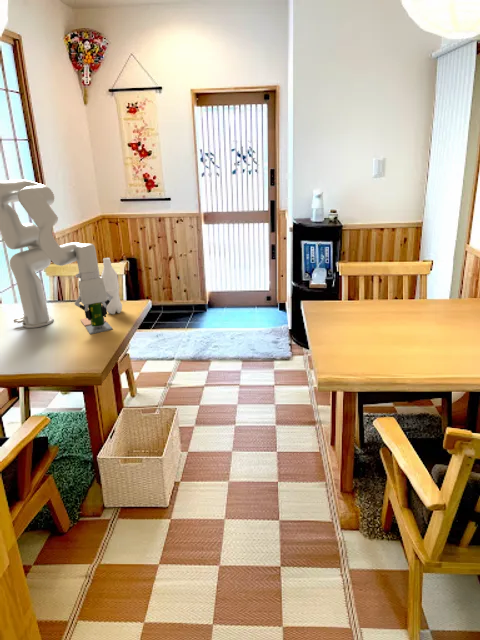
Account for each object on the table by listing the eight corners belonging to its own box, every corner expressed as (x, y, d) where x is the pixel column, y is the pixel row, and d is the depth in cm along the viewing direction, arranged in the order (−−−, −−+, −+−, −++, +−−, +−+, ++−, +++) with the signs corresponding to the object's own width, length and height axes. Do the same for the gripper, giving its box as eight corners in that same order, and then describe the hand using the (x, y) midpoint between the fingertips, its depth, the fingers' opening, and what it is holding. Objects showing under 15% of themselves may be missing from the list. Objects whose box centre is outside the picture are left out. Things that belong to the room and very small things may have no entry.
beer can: (99, 322, 195) (95, 295, 191) (107, 324, 192) (103, 297, 188) (88, 326, 192) (84, 298, 187) (96, 328, 188) (91, 300, 184)
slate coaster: (90, 334, 187) (90, 333, 186) (85, 327, 194) (85, 326, 194) (112, 329, 190) (112, 328, 190) (107, 323, 198) (107, 321, 198)
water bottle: (125, 309, 214) (117, 256, 205) (119, 314, 207) (111, 260, 199) (110, 310, 215) (101, 257, 206) (104, 315, 208) (95, 260, 200)
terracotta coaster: (84, 326, 196) (84, 325, 195) (80, 320, 203) (80, 319, 203) (106, 321, 200) (106, 320, 199) (101, 316, 207) (101, 315, 207)
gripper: (68, 280, 177) (77, 324, 184) (113, 273, 185) (120, 316, 191) (65, 276, 184) (73, 319, 190) (108, 269, 191) (115, 311, 197)
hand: (96, 317), depth 191 cm, fingers open, 5 cm apart
